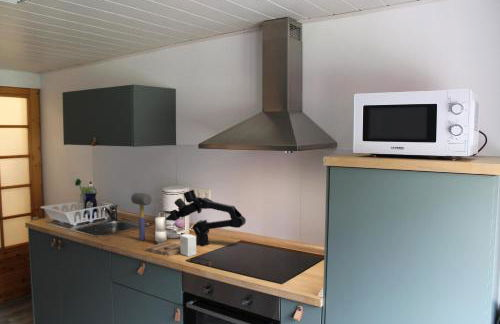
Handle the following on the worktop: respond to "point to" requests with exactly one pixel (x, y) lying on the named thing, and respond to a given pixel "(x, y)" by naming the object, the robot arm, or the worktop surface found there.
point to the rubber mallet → (141, 210)
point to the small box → (188, 245)
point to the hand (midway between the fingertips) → (169, 217)
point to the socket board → (165, 248)
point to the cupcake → (179, 223)
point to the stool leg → (160, 230)
